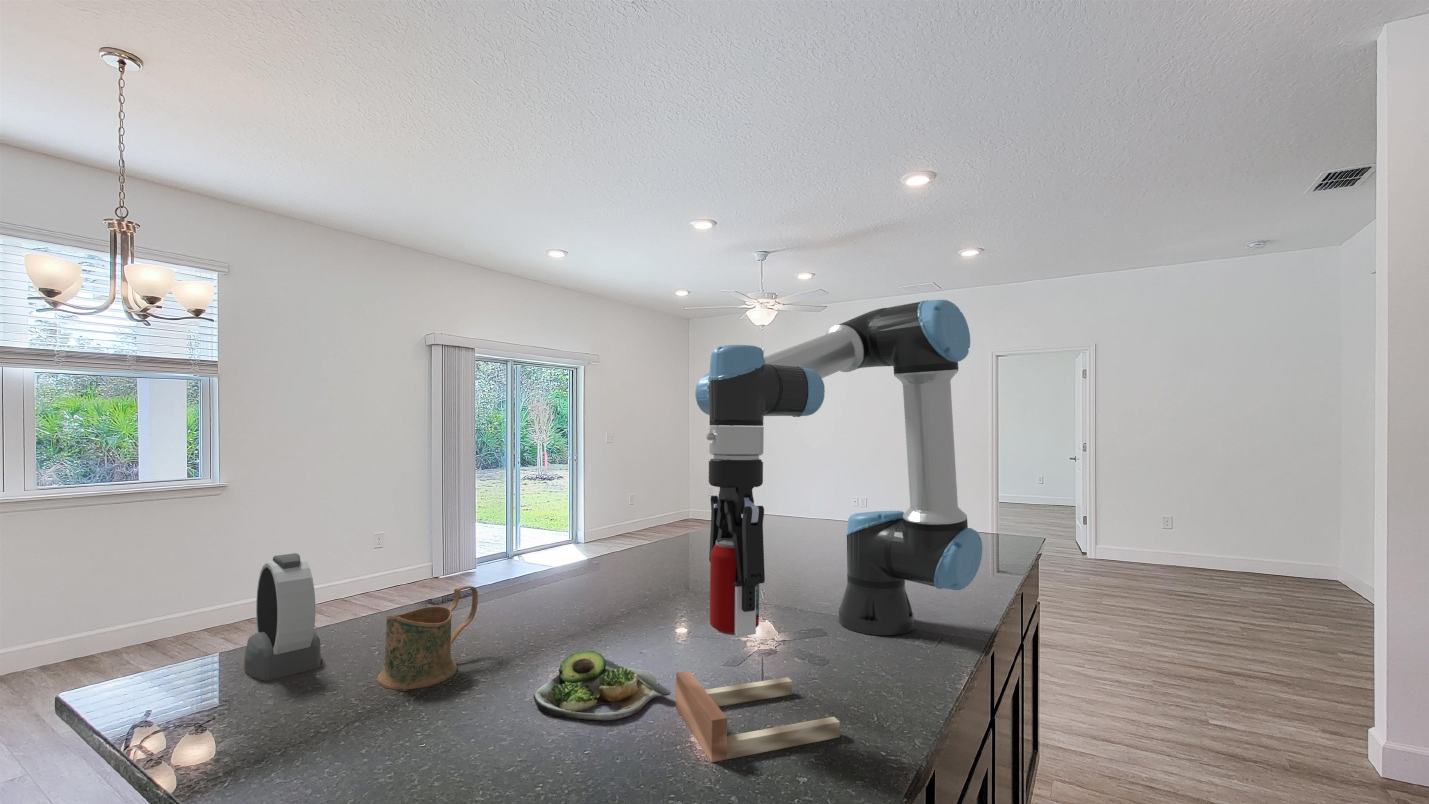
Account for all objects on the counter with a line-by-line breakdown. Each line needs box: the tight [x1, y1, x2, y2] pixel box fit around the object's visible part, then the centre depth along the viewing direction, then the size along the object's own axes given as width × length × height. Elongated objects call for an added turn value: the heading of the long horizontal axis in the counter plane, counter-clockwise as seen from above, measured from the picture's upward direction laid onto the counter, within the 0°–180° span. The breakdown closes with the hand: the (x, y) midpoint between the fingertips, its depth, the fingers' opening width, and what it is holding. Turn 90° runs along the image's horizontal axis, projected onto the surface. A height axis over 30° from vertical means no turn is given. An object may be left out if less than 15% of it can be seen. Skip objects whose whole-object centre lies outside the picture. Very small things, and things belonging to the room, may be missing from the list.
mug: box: [377, 585, 479, 690], centre depth 102 cm, size 12×18×12 cm, turn 155°
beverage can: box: [709, 538, 760, 636], centre depth 84 cm, size 7×7×12 cm
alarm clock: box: [243, 552, 321, 681], centre depth 103 cm, size 16×10×18 cm, turn 47°
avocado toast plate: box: [533, 650, 672, 721], centre depth 92 cm, size 19×18×5 cm
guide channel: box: [675, 670, 841, 763], centre depth 84 cm, size 18×15×5 cm
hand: (734, 625), depth 84 cm, fingers closed on beverage can, 7 cm apart
